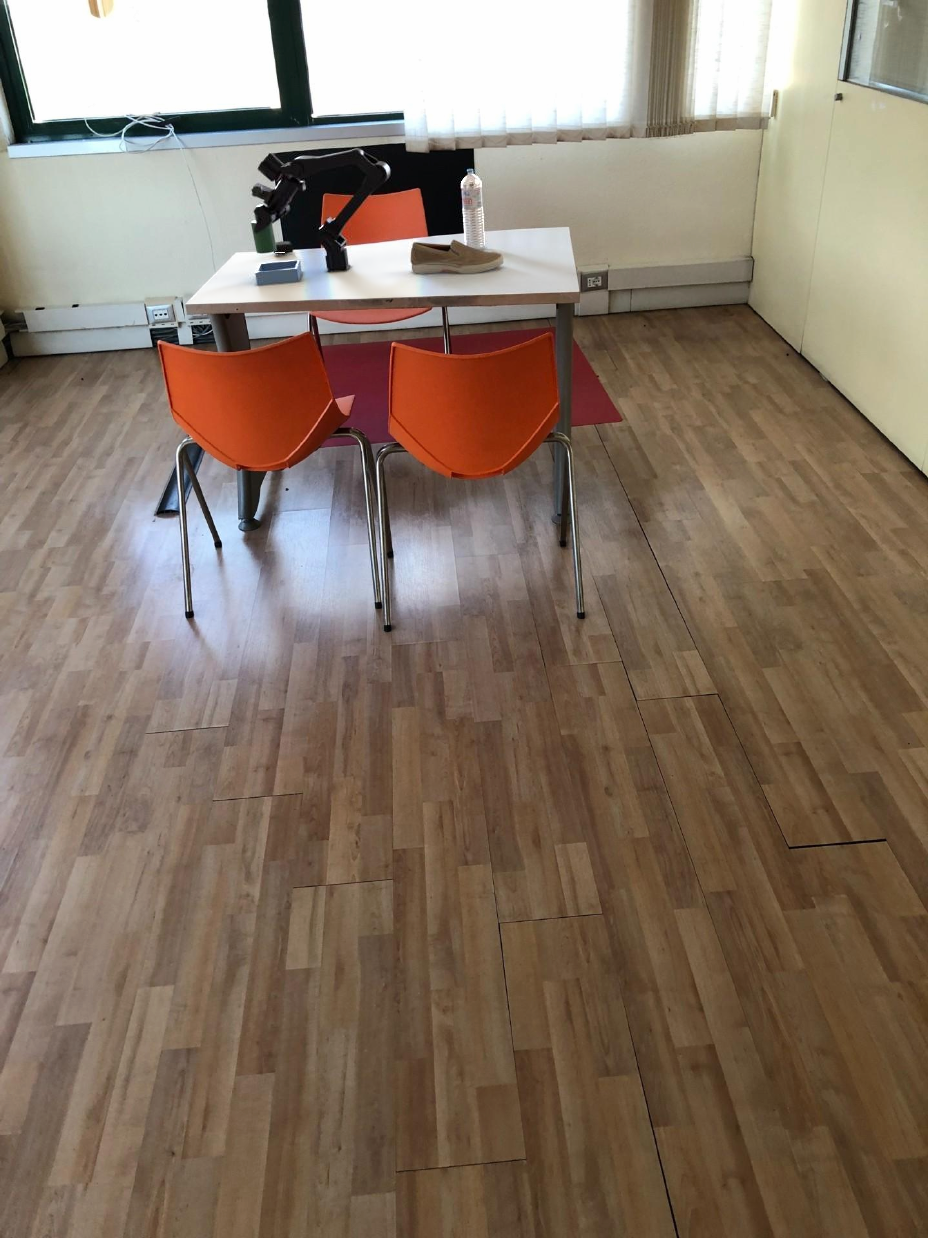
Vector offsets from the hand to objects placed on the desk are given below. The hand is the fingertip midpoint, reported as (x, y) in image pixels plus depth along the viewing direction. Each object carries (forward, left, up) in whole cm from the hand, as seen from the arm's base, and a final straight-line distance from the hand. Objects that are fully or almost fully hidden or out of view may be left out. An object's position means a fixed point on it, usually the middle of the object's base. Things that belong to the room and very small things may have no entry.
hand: (258, 230), depth 315 cm
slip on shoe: (-66, +7, -14) cm, 68 cm away
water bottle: (-68, -21, -14) cm, 73 cm away
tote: (-8, +10, -13) cm, 18 cm away
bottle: (-1, 0, -7) cm, 7 cm away
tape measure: (+2, -26, -14) cm, 29 cm away
